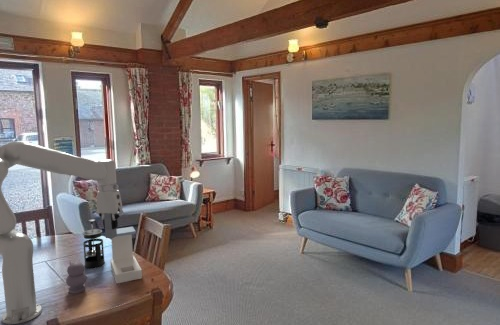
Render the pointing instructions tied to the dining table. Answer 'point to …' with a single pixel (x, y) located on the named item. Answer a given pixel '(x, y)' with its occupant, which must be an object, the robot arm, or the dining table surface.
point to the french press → (93, 256)
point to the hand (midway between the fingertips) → (110, 227)
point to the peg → (109, 226)
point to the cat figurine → (76, 277)
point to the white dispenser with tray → (124, 257)
